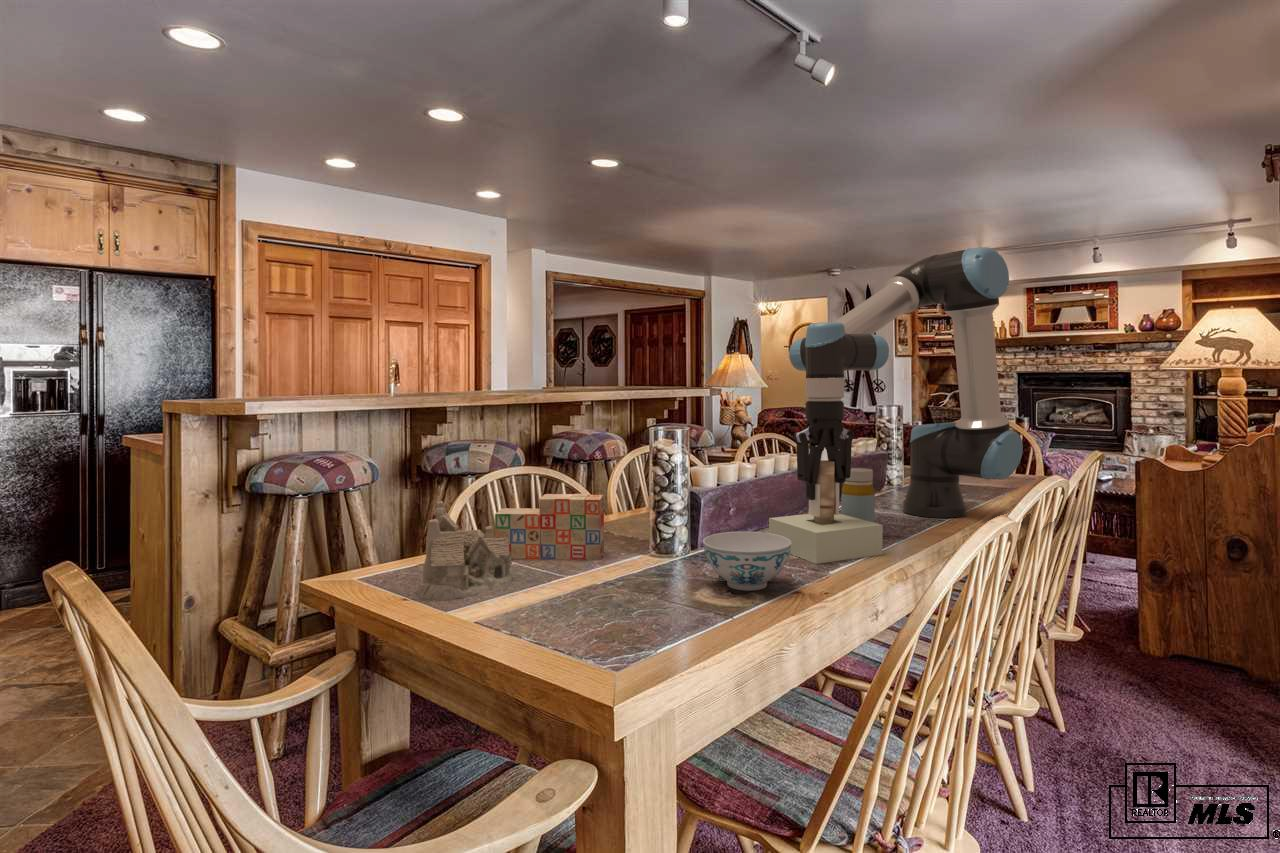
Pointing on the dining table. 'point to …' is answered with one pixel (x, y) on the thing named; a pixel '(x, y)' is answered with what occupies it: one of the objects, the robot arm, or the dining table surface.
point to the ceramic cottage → (462, 560)
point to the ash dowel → (826, 493)
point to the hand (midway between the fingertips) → (823, 514)
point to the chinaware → (747, 557)
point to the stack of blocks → (555, 528)
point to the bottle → (859, 495)
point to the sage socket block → (829, 537)
